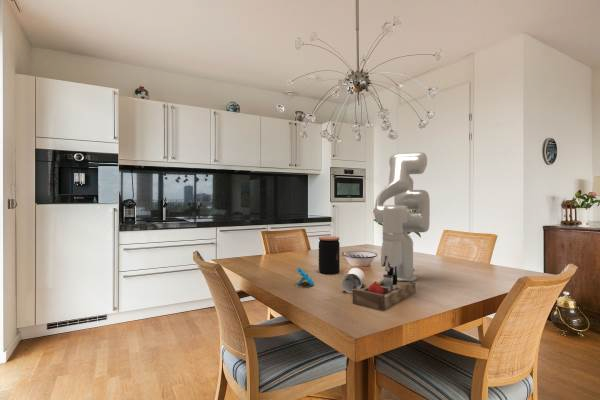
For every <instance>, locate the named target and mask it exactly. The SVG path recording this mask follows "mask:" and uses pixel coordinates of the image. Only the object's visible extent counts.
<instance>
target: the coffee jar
mask: <svg viewBox="0 0 600 400" xmlns="http://www.w3.org/2000/svg"><path fill="white" fill-rule="evenodd" d="M318 240H319V241H318V272H319V273H320V274H323V275H336V274H339V272H340V270H341V269H340V267H341V265H340V262H341V261H340V250H341V249H340V244H341V243H340V241H339V240H340V237H339V236H335V235H334V236H332V235H330V236H329V235H327V236H325V235H324V236H323V235H322V236H319V237H318Z"/></svg>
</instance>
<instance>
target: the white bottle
mask: <svg viewBox="0 0 600 400" xmlns="http://www.w3.org/2000/svg"><path fill="white" fill-rule="evenodd" d="M365 278H366V277H365V274H364V272H363V270H362V269H360V268H359V267H358V268H357V267H353V268H350V269H349V271H347V274H345V275H344V276H343V277H342V279H341V282H340V284H341V287H342V289H343V290H344V292H346V293H348V294H353V290H352V289H359V290H360V289H362V287H363V283H364V282H365Z"/></svg>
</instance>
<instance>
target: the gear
mask: <svg viewBox="0 0 600 400" xmlns="http://www.w3.org/2000/svg"><path fill="white" fill-rule="evenodd" d="M297 272H298V273H299V275H300V276H301V279H299V281H298V282H296V284H297V286H299V285H300V284H302V282H304V281H306V282H307V283H308V284H309V285H311V286H314V285H315V283H314V281H313V279H312V278H311V277H310V276H309V274H308V273H306V271H304V270H303V269H302V268H301V267H297Z"/></svg>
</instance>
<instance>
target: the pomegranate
mask: <svg viewBox="0 0 600 400" xmlns="http://www.w3.org/2000/svg"><path fill="white" fill-rule="evenodd" d="M377 282H378V281H377V280H374V282H373V283H372V284H370V285H368V286H369V288H368V291H369V292H374V293H379V294H384V290H383V288H382V287H381V285H379V284H378V283H377Z"/></svg>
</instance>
